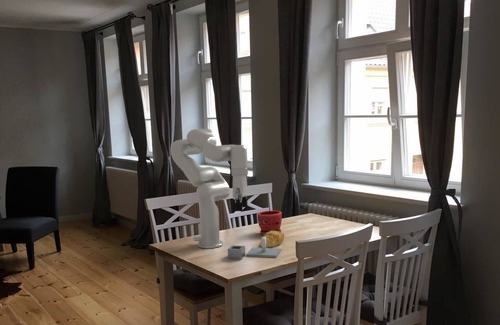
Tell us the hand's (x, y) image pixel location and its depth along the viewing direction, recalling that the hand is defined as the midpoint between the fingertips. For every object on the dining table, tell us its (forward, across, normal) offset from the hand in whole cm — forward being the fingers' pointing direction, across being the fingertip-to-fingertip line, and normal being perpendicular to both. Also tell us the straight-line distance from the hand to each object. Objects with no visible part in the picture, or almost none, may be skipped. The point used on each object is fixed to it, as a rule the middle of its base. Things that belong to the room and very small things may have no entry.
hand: (241, 209), depth 209 cm
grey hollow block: (+22, +4, -3) cm, 22 cm away
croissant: (+22, -20, +9) cm, 31 cm away
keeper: (+22, -4, +9) cm, 24 cm away
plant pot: (+21, -39, +5) cm, 45 cm away
